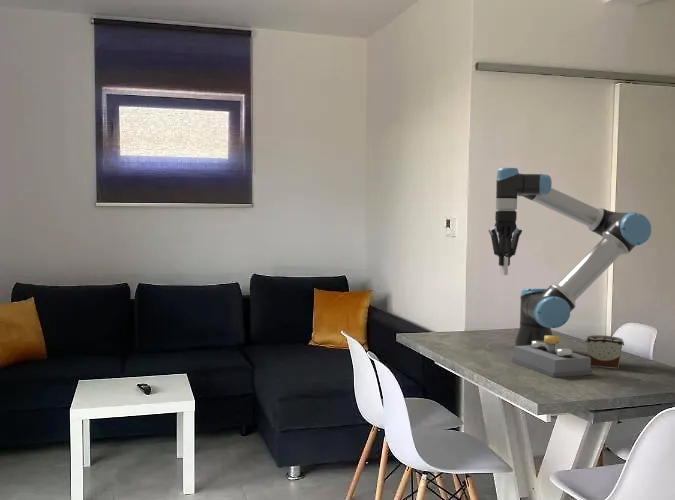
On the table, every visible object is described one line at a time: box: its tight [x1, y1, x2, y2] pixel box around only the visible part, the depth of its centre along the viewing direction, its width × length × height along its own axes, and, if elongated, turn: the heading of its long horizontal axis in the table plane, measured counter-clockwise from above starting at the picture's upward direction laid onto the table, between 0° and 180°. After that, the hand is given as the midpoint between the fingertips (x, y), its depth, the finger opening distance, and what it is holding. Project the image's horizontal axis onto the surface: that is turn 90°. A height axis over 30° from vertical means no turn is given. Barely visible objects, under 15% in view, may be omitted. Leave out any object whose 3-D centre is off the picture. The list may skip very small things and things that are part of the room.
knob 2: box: [557, 347, 573, 358], centre depth 224 cm, size 5×5×6 cm
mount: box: [511, 345, 593, 378], centre depth 231 cm, size 15×23×6 cm, turn 19°
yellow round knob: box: [544, 334, 560, 355], centre depth 231 cm, size 5×5×6 cm
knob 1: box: [531, 340, 546, 350], centre depth 238 cm, size 5×5×6 cm
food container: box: [585, 334, 625, 369], centre depth 237 cm, size 12×6×10 cm, turn 71°
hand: (503, 274), depth 251 cm, fingers closed
